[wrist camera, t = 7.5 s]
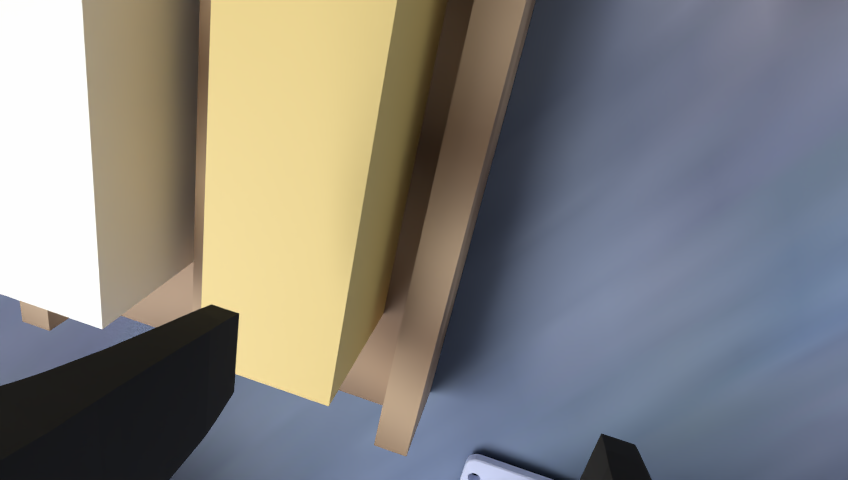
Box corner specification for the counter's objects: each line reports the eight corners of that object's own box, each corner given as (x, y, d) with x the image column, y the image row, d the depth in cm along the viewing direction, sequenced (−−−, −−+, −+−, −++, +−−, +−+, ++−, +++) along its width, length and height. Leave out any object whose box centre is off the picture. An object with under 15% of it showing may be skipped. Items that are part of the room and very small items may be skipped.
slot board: (429, 393, 24) (406, 456, 21) (90, 279, 26) (22, 321, 23) (621, -318, 14) (632, -402, 11) (41, -412, 16) (-92, -505, 13)
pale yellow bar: (383, 313, 21) (328, 406, 16) (279, 280, 21) (199, 361, 17) (478, -151, 14) (431, -203, 10) (327, -181, 15) (218, -245, 11)
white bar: (200, 256, 22) (102, 329, 17) (105, 226, 22) (-14, 289, 18) (214, -202, 15) (64, -272, 11) (80, -230, 16) (-113, -306, 11)
